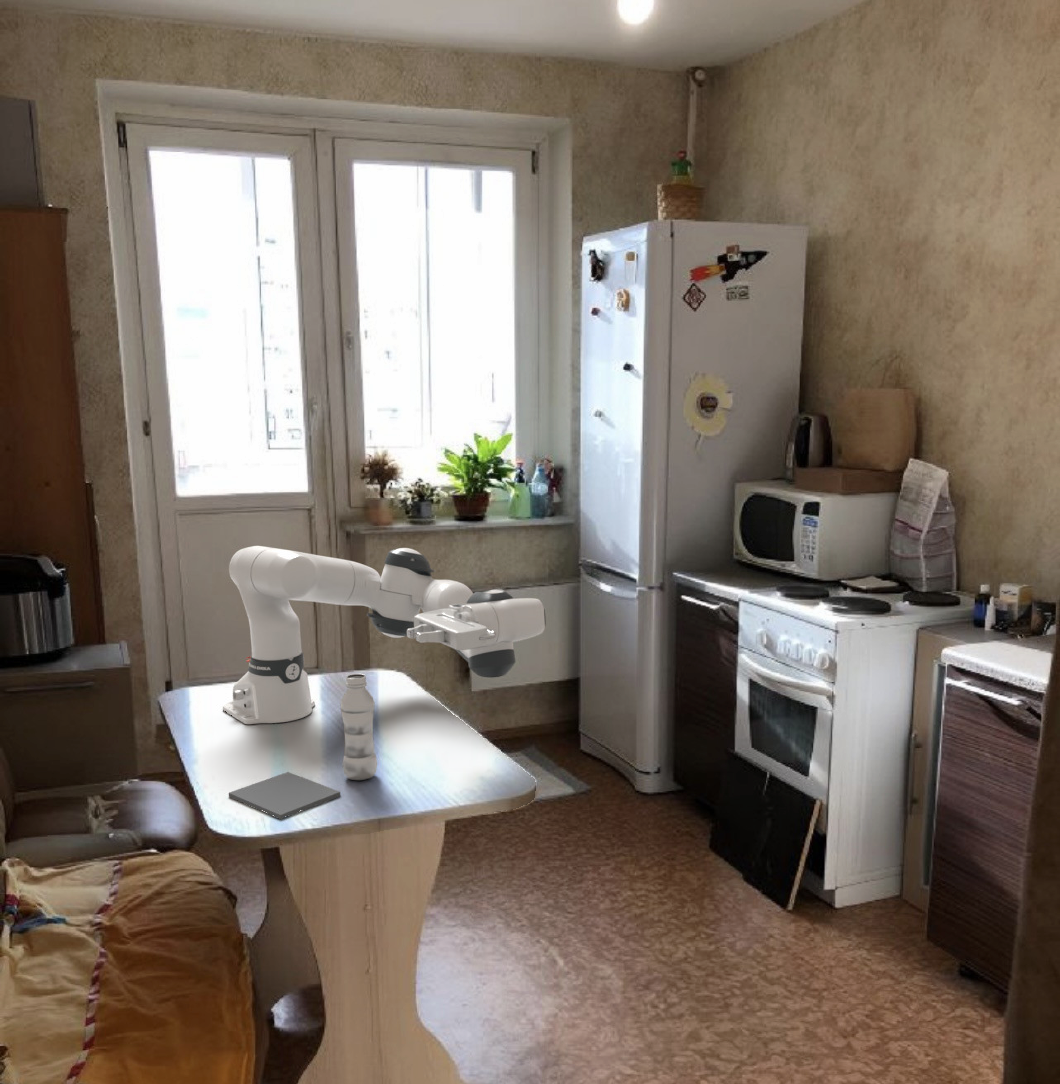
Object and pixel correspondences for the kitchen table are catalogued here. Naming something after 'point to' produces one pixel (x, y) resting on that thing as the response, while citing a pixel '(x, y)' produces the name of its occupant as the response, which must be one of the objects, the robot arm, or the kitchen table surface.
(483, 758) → the kitchen table surface
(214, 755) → the kitchen table surface
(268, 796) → the mat
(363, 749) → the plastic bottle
